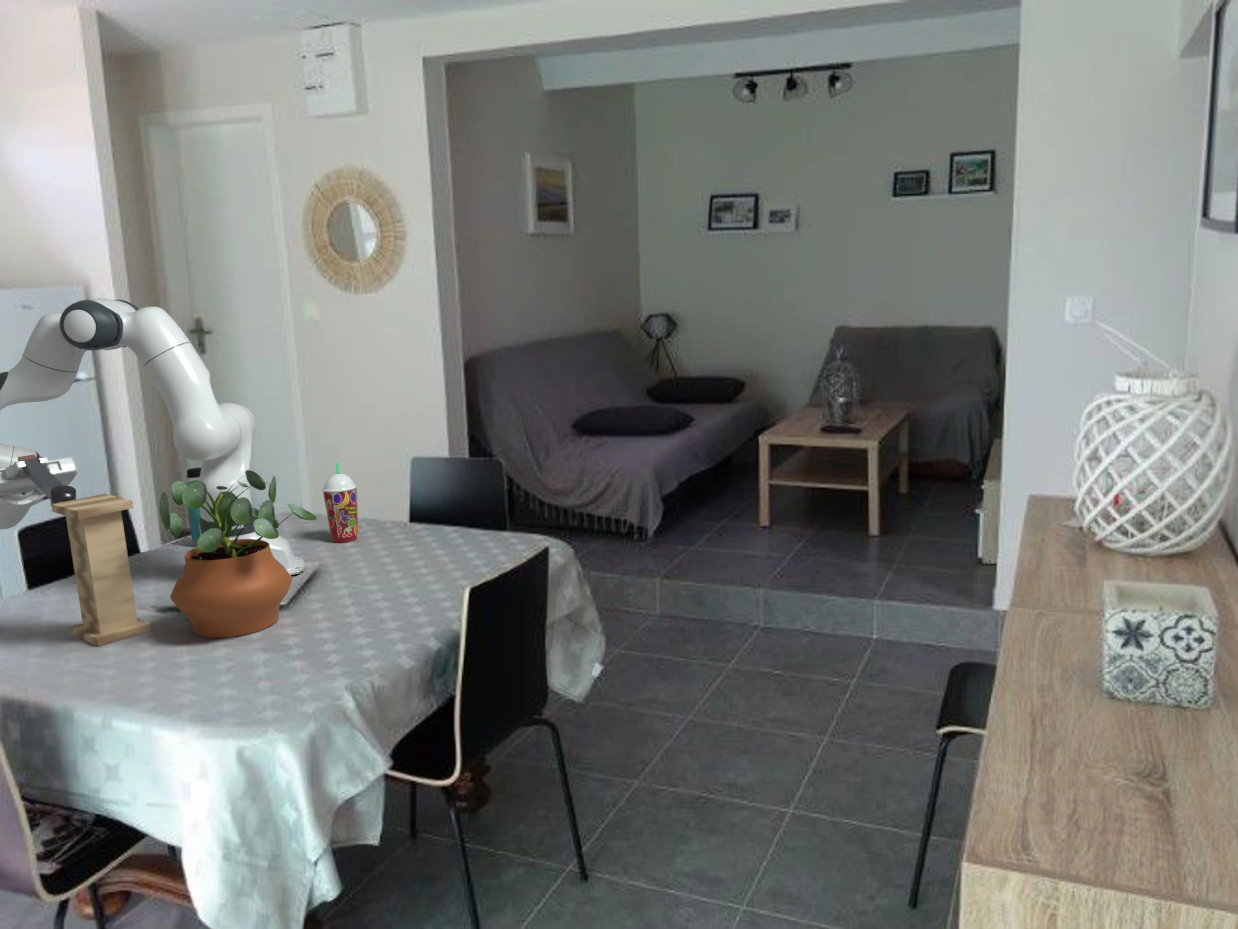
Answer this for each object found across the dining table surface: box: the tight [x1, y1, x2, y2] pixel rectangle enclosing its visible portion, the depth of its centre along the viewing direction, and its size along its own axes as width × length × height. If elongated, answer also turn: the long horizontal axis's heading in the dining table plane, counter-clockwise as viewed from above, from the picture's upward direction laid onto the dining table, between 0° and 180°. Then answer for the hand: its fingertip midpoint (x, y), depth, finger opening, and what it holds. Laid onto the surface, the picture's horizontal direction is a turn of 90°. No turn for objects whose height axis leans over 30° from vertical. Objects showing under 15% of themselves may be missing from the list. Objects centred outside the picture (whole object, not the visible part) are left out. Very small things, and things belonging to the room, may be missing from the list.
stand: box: [50, 493, 152, 648], centre depth 198 cm, size 12×10×26 cm
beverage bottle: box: [185, 467, 201, 543], centre depth 263 cm, size 6×7×20 cm
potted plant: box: [158, 469, 317, 639], centre depth 199 cm, size 23×28×30 cm
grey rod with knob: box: [18, 455, 77, 505], centre depth 208 cm, size 20×4×3 cm, turn 49°
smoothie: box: [322, 462, 359, 544], centre depth 260 cm, size 8×8×20 cm
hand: (32, 462), depth 211 cm, fingers closed on grey rod with knob, 3 cm apart
